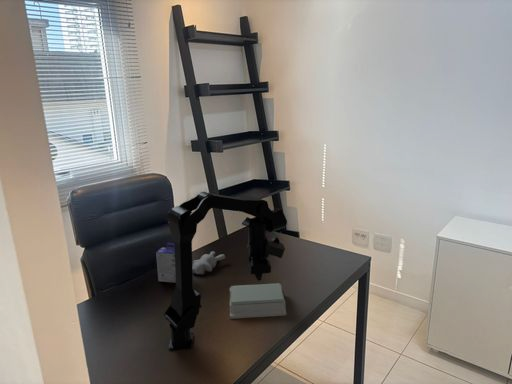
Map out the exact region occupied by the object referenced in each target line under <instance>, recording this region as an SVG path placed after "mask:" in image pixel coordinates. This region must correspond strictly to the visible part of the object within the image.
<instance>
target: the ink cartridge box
mask: <svg viewBox="0 0 512 384" xmlns="http://www.w3.org/2000/svg"><path fill="white" fill-rule="evenodd" d="M155 256H156V266H157V267H156V268H157V269H156V270H157V280H158V282H160V283H161V282H162V283H163V282H165V283H175V284H176V274H175V247H174V242H166V247H161V248H159V249H158V250H157V251H156V252H155Z"/></svg>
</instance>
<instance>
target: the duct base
mask: <svg viewBox="0 0 512 384" xmlns="http://www.w3.org/2000/svg"><path fill="white" fill-rule="evenodd" d="M281 289H282V290H283V287H282V286H281ZM280 316H281V317H282V316H287V310H286V299H285V298H284V302H271V303H253V304H236V305H231V287H229V319H246V318H251V319H252V318H265V317H280Z"/></svg>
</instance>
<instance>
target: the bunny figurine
mask: <svg viewBox="0 0 512 384" xmlns="http://www.w3.org/2000/svg"><path fill="white" fill-rule="evenodd" d="M215 255H216V252H215V251H214V250H213V251H210V253H208V254H207V253H205V254H203V255H201V257H200V259H196V260H195V259H194V260H192V268H193V273H194V274H197V275H204V274H205V273H206V272H212V271H213V269H214V268H215V267H216V265H217V262H218V261H220V260H224V259H226V256H225V254H224V253H222V254H219V255H217V256H215Z"/></svg>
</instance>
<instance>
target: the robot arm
mask: <svg viewBox="0 0 512 384" xmlns="http://www.w3.org/2000/svg"><path fill="white" fill-rule="evenodd" d="M211 209H216V210H217V209H218V210H226V211H233V212H239V213H240V212H241V213H244V214H247V215H249V216H253V217H251V218H250V217H249V216H246V217H245V219H244V220H243V221H242V222H241V225H242V226H245V227H247V231H248V232H247V234H248V236H247V238H248V239H247V241H248V242H247V245H246V247H247V250H246V251H247V253H248V254H249V256H248V262H249V271H250V274H251V275H255V278H256V280H257V281H258V282H259V281H262V278H263V274H270V273H272V265H271V262H270V260H269V259H268V257H270V256H273V257H277V258H278V259H282V258H283V256H284V253H285V250H286V247H285V245H284V244H283V243H282V242H280V241H281V240H280V238H279V237H276V236H274V237H273V238H271V239H270V240H269V239H268V237H267V232H268V233H273V232H275V231H278V230H282V229H285V228H286V227H287V224H288V220H287V217H286V215H285V214H284V212H283V209H282V208H277V207H276V208H274V209H272V210H271V208H270V207H269V202H268V201H267V200H265V199H262V198H259V197H256V196H254V195H249V196H242V197H235V196H234V197H233V196H228V195H222V194H216V193H210V192H207V191H200V192H199V193H197V194H195V196H193V197H191V198H189V199H187V200H185V201H183V202H181V203H180V204H179V205H178V206H177V205H176V206H174V207H172V208H171V209H170V210H169V211H168V213H167V217H166V219H167V223H168V227H169V228H168V229H169V231H170V233H171V236H172V238H173V243H174V245H173V247H175V274H176V283H175V289H174V290H173V292H172V295H171V301H170V305H169V306H168V308H166V310H165V311H164V313H163V317H164V318H165V320H166V321H167V322H169V331H170V339H169V344H168V350H171V351H172V350H183V349H184V350H185V349H192V348H193V342H194V335H195V334H194V332H192V331H191V329H193V328H194V327H195V325H196V320H197V316H199V313H200V309H201V308H202V304H201V300H202V299H201V298H202V296H201V293H199V292H198V291H197V290H195V288H194V276H193V268H192V266H193V239H194V238H195V236H196V234H197V229H198V224H199V223H201V222H202V221H203V220H204V219H205V218H206V216H207V214H208V212H209V211H210V210H211Z"/></svg>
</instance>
